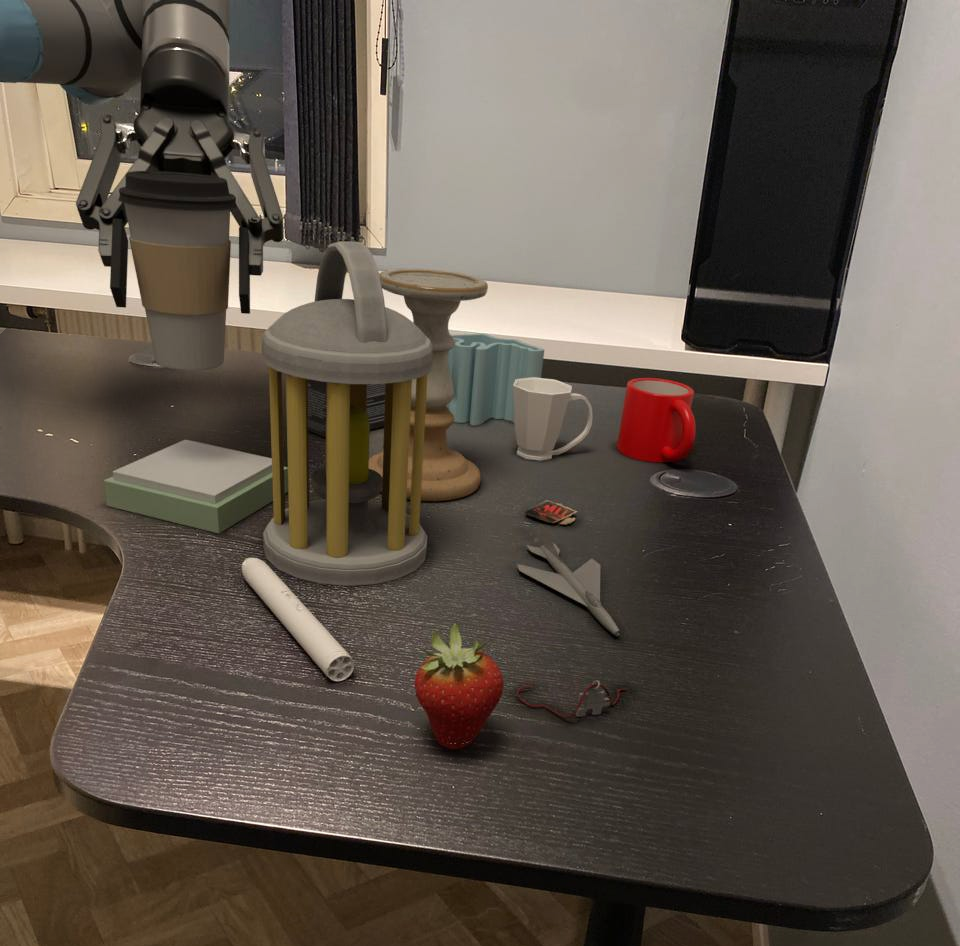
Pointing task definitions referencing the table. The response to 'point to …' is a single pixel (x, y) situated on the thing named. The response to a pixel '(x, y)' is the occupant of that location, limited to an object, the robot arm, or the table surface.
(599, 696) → the pendant
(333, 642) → the white cylindrical rod
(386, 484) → the lantern
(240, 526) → the table surface
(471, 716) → the fruit
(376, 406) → the small box
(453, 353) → the squiggly pen holder
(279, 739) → the table surface
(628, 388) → the mug
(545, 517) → the matchbox
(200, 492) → the scale
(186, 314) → the coffee cup
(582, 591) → the toy airplane
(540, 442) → the cup
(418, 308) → the candle holder
